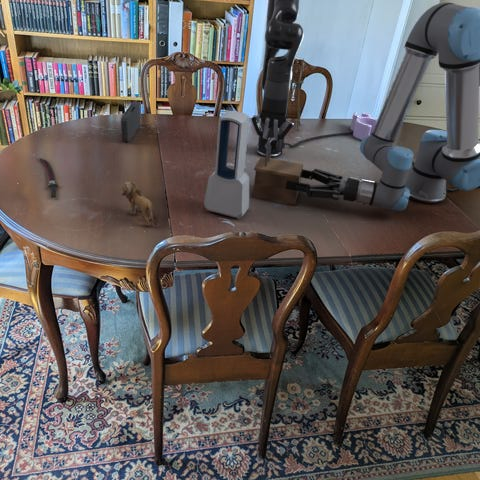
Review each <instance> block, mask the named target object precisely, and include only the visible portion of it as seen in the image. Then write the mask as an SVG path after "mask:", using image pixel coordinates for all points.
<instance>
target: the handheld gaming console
mask: <svg viewBox="0 0 480 480" xmlns="http://www.w3.org/2000/svg"><path fill="white" fill-rule="evenodd" d="M120 125H121V126H120V127H121V128H120V131H121V141H122V142H123V143H129V142H130V141H131V139H132V138H133V136H134V134H136V131H137V130H138V129H139V127H140V125H141V103H140V101H132V103H131V104H130V105H129V107H128V108H127V109H126V111H124V113H123V115H122V116H121V117H120Z"/></svg>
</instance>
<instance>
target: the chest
mask: <svg viewBox="0 0 480 480" xmlns="http://www.w3.org/2000/svg"><path fill="white" fill-rule="evenodd" d="M303 169H304V168H303ZM303 169H302V171H303ZM254 174H255V175H254V184H253V191H252V198H255V199H260V200H265V201H268V202H275V203H279V204H285V205H289V206H295V205H296V202H297V199H298V196H299V193H300V192H299V191H294V190H289V189H285V188H286V182H287V180H289V181H294V182H299V183H302V178H301V177H302V172H301V175H300V178H294V177H288V176H283V175H277V174H272V173H267V172H261V171H256V170H255V173H254Z"/></svg>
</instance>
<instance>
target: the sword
mask: <svg viewBox="0 0 480 480" xmlns="http://www.w3.org/2000/svg"><path fill="white" fill-rule="evenodd" d="M40 161H41V162H42V163H43V165H44V166H45V169H46V173H47V176H48V185H47V188H50V198H56V197H57V189H56V188H57V187H59V185H58V184H57V183H56V180H55V176H54V172H53V169H52V167H51V164H50V163H49V161H48V160H46V159H43V158H40Z"/></svg>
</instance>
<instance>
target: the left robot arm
mask: <svg viewBox="0 0 480 480" xmlns="http://www.w3.org/2000/svg"><path fill="white" fill-rule="evenodd" d="M267 2H268V3H267V9H266V11H267V12H266V23H265V27H266V28H265V33H264V41H265V46H264V47H265V48H264V56H263V64H262V71H261V79H260V80H261V83H260V84H261V89H262V90H263V94H262V96H263V97H262V103H261V104H262V105H261V111H260V113H259V114H257V115H256V114H254V115H253V116H252V117H251V122H252V125H253V127H254V130H255V132H256V135H257V136H258V138H257V139H258V140H257V143H256V153H257V154H258V155H259V156H261V157H266V148H265V144H266V142H267V140H268V139H269V138H270V137H272V138H274V139H273V141H272V146H271V153H270V158H277V157H279V156H281V155H282V154H283V150H284V149H285V147H286V146H288V147H289V148H296V147H297V146H298V145H301V144H302V143H305V142H309V141H313V140H317V139H322V138H329V137H335V136H336V137H337V136H345V135H353V132H354V131H347V132H337V133H330V134H322V135H318V136H313V137H309V138H305V139H302V140H299V141H298V142H296V143H294V144H291V143H290V142H285V137H286V135H287V134H288V133H289V132H290V131H291V129H292V128H293V126H294V125H295V122H292V121H289V120H290V119H288V116H287V115H288V114H286V111H287V112H288V110H287V105H288V102H289V98H290V90H291V85H292V82H293V71H292V66H294V62H295V59H296V57H297V54H298V52H299V50H300V47H301V44H302V42H303V40H304V28H303V27H302V25H301V24H300V23H296V21H297V20H298V16H299V9H300V8H299V7H300V0H268V1H267ZM281 50H284V51H287V52H286V53H285V54H284V55H280V56H278V53H279V52H280V51H281ZM284 128H285V129H284Z"/></svg>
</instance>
